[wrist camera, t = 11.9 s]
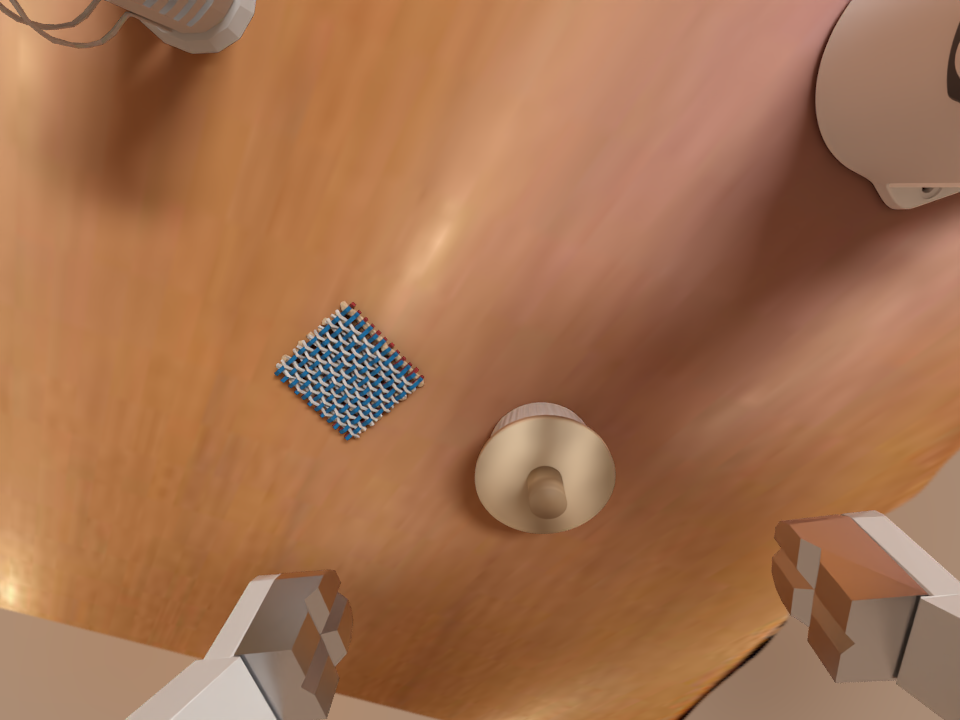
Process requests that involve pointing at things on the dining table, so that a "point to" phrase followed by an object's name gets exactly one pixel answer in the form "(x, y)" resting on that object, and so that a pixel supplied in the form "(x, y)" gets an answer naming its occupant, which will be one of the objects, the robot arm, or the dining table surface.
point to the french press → (166, 22)
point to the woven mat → (349, 372)
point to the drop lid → (544, 474)
